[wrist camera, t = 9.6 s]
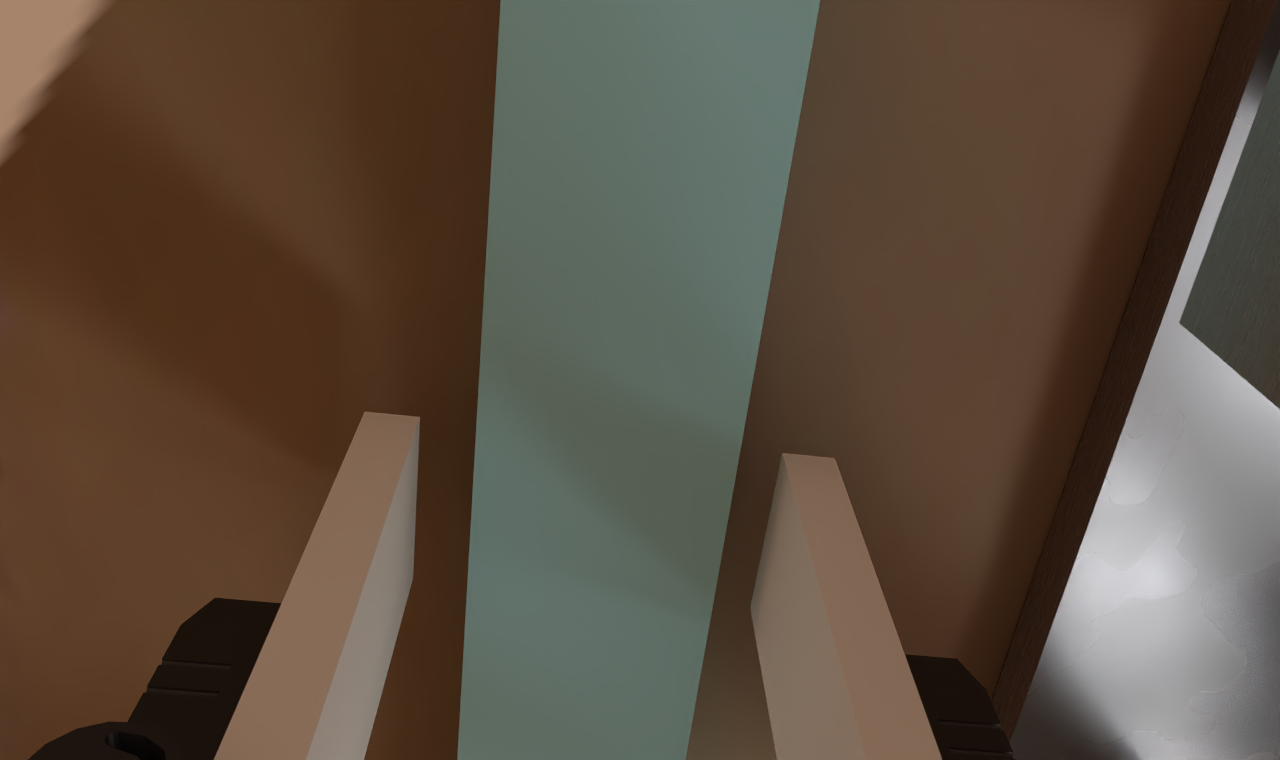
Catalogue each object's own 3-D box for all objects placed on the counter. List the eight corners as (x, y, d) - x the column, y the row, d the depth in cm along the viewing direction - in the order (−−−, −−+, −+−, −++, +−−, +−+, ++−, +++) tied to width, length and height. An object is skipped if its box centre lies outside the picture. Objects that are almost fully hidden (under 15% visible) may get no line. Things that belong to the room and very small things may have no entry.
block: (815, -247, 14) (868, -271, 11) (638, 854, 23) (640, 1015, 20) (542, -283, 14) (518, -319, 11) (468, 842, 23) (443, 1003, 20)
